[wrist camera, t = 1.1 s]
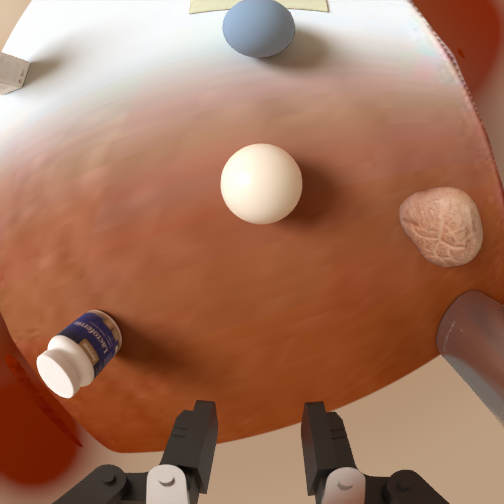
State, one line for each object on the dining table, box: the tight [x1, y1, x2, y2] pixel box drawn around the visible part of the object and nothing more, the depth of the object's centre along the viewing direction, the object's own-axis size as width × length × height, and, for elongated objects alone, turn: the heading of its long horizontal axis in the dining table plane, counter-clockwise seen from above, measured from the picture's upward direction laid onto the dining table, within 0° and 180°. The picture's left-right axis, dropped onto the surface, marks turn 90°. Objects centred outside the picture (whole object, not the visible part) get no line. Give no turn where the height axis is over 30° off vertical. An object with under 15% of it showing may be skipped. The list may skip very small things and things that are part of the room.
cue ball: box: [221, 144, 302, 224], centre depth 20 cm, size 6×6×6 cm
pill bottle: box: [37, 310, 122, 398], centre depth 22 cm, size 6×6×10 cm
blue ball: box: [223, 0, 295, 58], centre depth 17 cm, size 6×6×6 cm
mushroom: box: [399, 187, 483, 267], centre depth 19 cm, size 8×6×8 cm
